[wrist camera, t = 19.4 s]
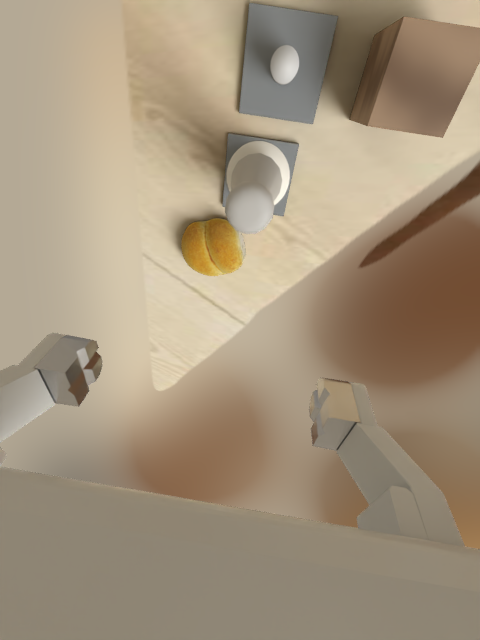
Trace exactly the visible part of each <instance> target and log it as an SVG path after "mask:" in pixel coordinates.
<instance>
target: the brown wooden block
mask: <svg viewBox="0 0 480 640" xmlns="http://www.w3.org/2000/svg"><path fill="white" fill-rule="evenodd" d="M479 62H480V28H477V27H470V26H464V25H457V24H450V23H444V22H437V21H430V20H424V19H417V18H410V17H403V18H401V19H400V20H398V21H396V22H395V23H393V24H392V25H390V26H388V27H387V28H385V29H384V30H382V31H381V32H379V33H377V34H376V35H375V36H374V39H373V42H372V46H371V49H370V52H369V56H368V59H367V62H366V66H365V69H364V72H363V76H362V79H361V82H360V86H359V89H358V93H357V96H356V99H355V103H354V106H353V109H352V113H351V116H350V119H349V120H352V121H355V122H358V123H360V124H363V125H366V126H371V127H377V128H384V129H390V130H396V131H403V132H409V133H416V134H422V135H429V136H435V137H442V138H443V136H444V134H445V132H446V130H447V128H448V126H449V124H450V122H451V120H452V118H453V116H454V114H455V112H456V110H457V107H458V105H459V103H460V101H461V99H462V97H463V95H464V93H465V91H466V89H467V87H468V85H469V83H470V81H471V79H472V77H473V75H474V73H475V70H476V68H477V66H478V64H479Z"/></svg>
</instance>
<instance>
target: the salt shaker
mask: <svg viewBox="0 0 480 640" xmlns="http://www.w3.org/2000/svg"><path fill="white" fill-rule="evenodd" d="M281 185H282V177H281V172H280V168H279V167H278V165H277V164H276V163H275V162H274V160H273V159H272V158H270V157H268V156H266V155H264V154H262V153H256V154H248V155H247V156H245V157H244V158H242V159H241V160H239V161H238V162H237V164H236V166H235V168H234V170H233V171H232V177H231V192H230V193H229V195H228V197H227V199H226V206H225V213H226V216H227V219H228V221H229V223H230V224H231V225H232V226H233V228H234V229H235V230H237V231H239V232H242V233H244V234H256V233H258V232H259V231H261V230H263V229H265V228H266V226H267V225H268V224H269V222H270V221H271V219H272V218H273V212H274V200H275V199H276V197H277V196H278V195H279V193H280V190H281Z"/></svg>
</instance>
